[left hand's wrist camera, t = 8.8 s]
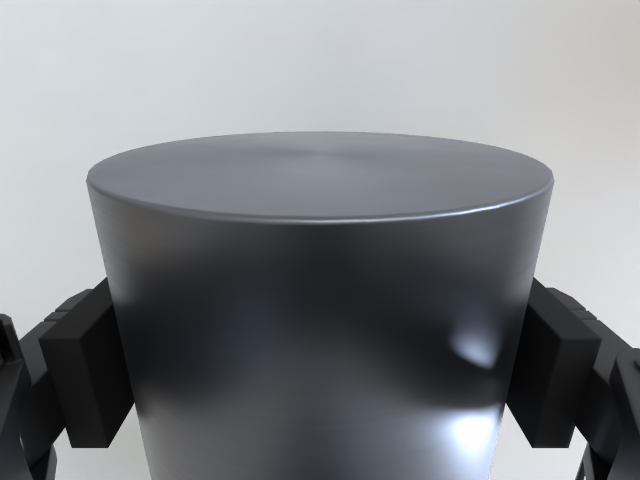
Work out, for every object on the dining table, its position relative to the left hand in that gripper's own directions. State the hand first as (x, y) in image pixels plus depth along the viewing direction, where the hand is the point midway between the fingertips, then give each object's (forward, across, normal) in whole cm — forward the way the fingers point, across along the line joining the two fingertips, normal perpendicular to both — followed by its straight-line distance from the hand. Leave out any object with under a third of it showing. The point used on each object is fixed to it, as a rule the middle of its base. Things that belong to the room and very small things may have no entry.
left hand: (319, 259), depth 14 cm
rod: (0, 0, -8) cm, 8 cm away
